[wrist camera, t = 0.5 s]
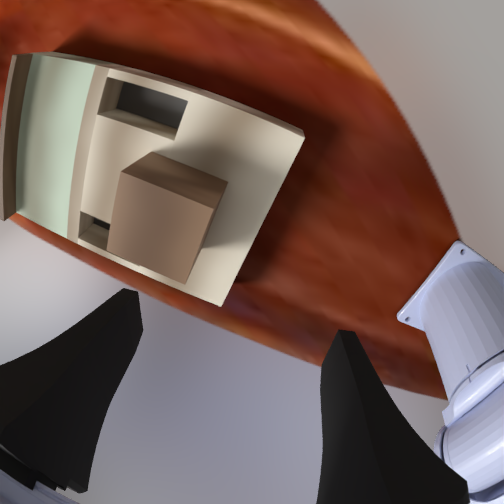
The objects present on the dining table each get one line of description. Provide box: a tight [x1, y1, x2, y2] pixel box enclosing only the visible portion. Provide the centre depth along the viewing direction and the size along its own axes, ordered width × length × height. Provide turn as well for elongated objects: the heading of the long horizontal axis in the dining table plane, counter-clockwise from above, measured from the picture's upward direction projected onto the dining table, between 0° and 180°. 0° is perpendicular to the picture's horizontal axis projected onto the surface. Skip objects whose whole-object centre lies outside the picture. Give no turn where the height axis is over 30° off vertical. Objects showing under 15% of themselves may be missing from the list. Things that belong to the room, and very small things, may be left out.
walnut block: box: [107, 151, 228, 285], centre depth 15 cm, size 4×4×4 cm
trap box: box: [0, 52, 305, 306], centre depth 17 cm, size 18×12×4 cm, turn 68°
